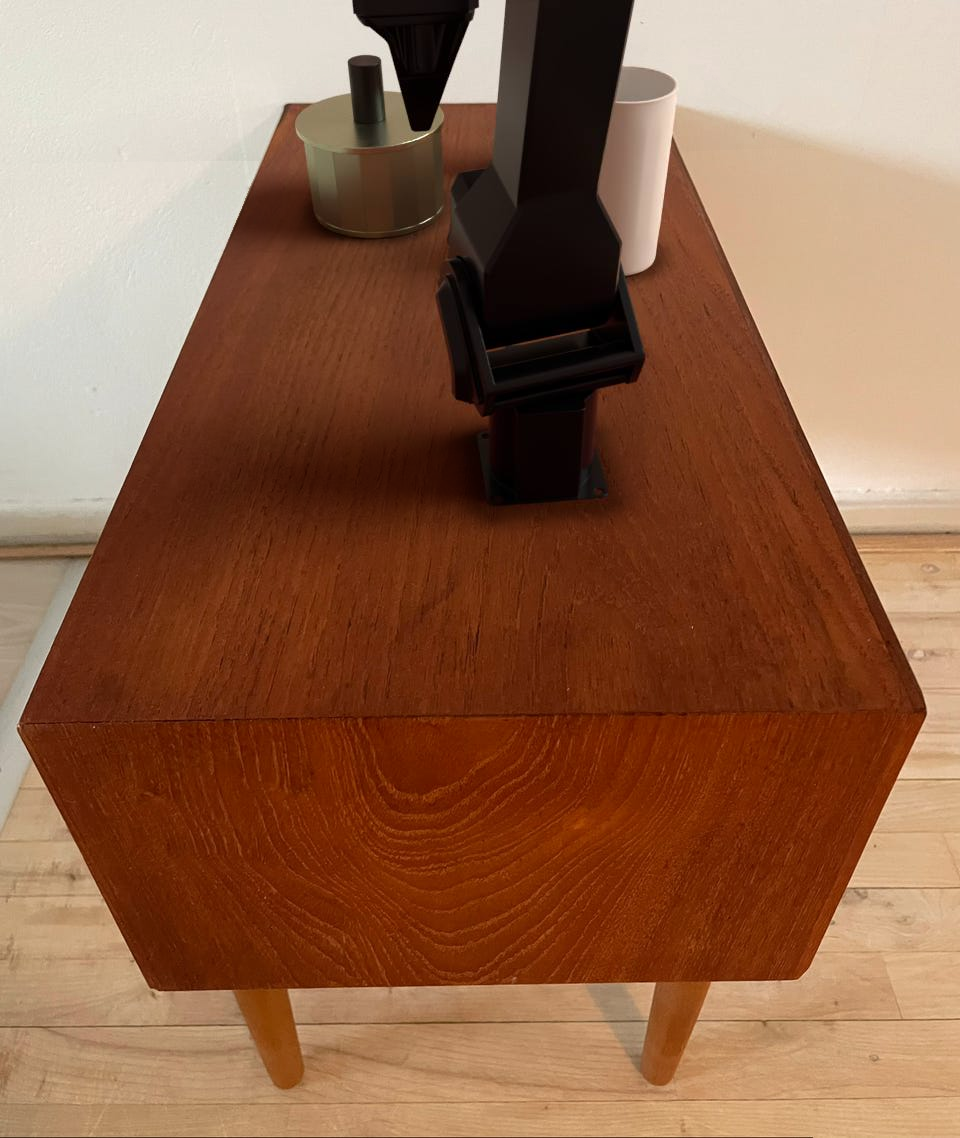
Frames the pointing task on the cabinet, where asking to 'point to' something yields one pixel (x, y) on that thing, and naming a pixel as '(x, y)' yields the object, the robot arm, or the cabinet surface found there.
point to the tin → (377, 190)
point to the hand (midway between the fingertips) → (416, 101)
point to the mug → (638, 161)
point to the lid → (362, 116)
